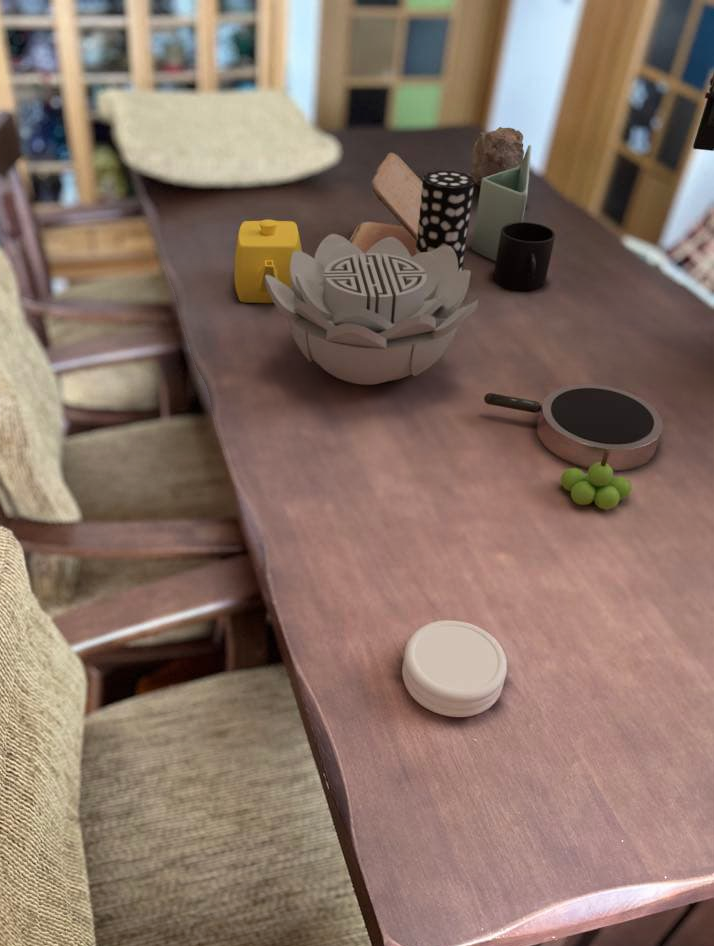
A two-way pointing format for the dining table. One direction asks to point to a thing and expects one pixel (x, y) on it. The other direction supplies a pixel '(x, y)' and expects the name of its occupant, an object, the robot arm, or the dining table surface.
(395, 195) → the case
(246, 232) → the teapot
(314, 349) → the decorative bowl
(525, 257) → the mug
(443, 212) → the spotted tube
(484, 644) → the round cream tin
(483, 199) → the green magazine holder
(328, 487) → the dining table surface
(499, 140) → the stone
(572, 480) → the grapes
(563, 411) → the pan
